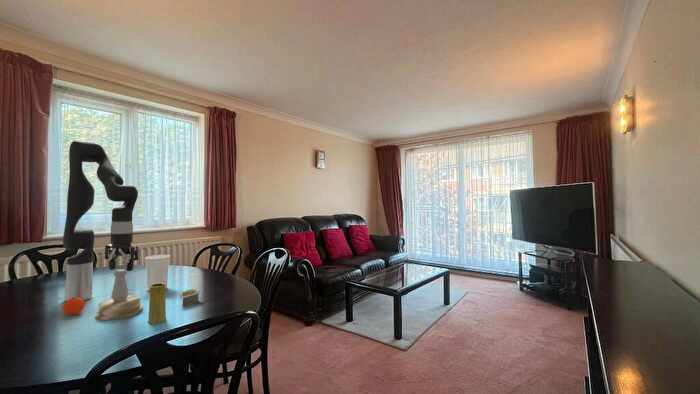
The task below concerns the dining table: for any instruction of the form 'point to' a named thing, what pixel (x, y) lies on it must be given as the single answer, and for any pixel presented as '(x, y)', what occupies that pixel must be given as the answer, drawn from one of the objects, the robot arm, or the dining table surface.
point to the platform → (189, 296)
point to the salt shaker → (120, 287)
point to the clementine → (73, 305)
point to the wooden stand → (118, 308)
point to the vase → (157, 303)
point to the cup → (157, 269)
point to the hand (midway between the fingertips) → (121, 270)
